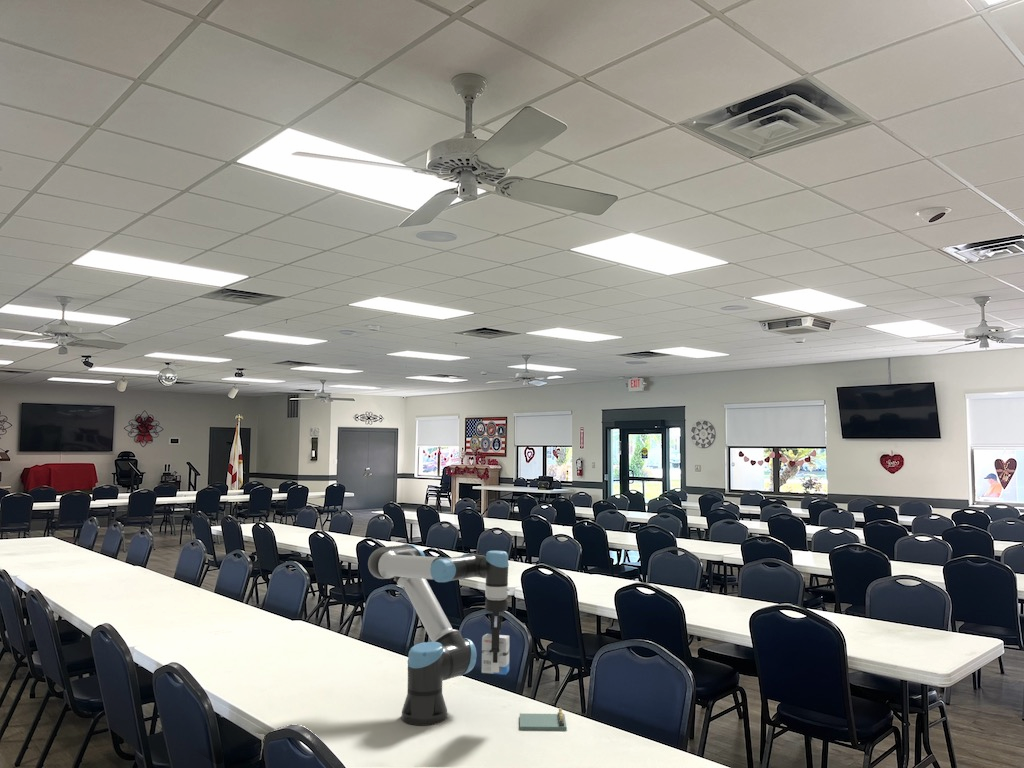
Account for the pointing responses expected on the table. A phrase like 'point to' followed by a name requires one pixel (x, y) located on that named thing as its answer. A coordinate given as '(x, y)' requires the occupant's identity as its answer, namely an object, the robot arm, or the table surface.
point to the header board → (543, 721)
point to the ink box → (502, 654)
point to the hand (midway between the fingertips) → (495, 669)
